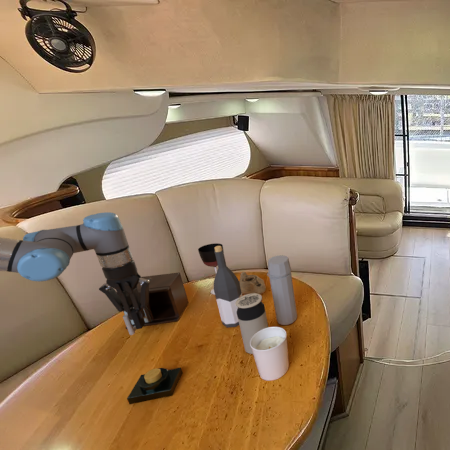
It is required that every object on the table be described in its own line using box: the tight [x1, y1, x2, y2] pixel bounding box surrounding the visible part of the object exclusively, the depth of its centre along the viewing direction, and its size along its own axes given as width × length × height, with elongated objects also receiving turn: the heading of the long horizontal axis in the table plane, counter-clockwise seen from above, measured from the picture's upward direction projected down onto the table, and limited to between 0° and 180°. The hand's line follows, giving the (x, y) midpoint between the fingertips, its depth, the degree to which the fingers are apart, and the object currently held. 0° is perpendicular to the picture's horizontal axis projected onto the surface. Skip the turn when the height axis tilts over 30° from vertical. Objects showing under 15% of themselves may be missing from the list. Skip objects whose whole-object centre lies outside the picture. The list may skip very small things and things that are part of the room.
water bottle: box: [266, 254, 298, 326], centre depth 111 cm, size 9×8×25 cm
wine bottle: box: [213, 246, 243, 328], centre depth 109 cm, size 8×8×30 cm
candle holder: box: [250, 326, 290, 382], centre depth 91 cm, size 10×10×12 cm
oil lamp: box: [239, 271, 267, 295], centre depth 130 cm, size 11×15×8 cm
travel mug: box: [236, 293, 269, 355], centre depth 99 cm, size 8×8×18 cm
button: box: [144, 367, 162, 384], centre depth 86 cm, size 4×4×2 cm
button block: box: [126, 367, 184, 405], centre depth 87 cm, size 10×8×4 cm
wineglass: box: [197, 242, 225, 296], centre depth 130 cm, size 8×9×20 cm
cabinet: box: [117, 272, 190, 330], centre depth 115 cm, size 16×12×14 cm
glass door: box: [122, 294, 152, 336], centre depth 105 cm, size 7×10×12 cm, turn 16°
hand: (141, 326), depth 103 cm, fingers closed
